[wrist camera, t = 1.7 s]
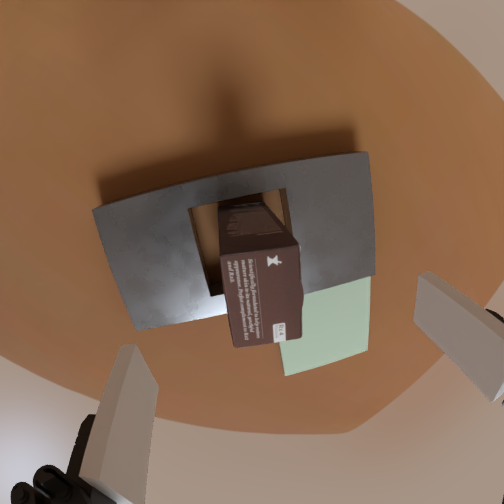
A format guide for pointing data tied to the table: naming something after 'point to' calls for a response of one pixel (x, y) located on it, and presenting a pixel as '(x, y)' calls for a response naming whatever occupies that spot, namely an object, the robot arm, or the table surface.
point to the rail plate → (227, 187)
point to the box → (260, 275)
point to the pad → (330, 327)
